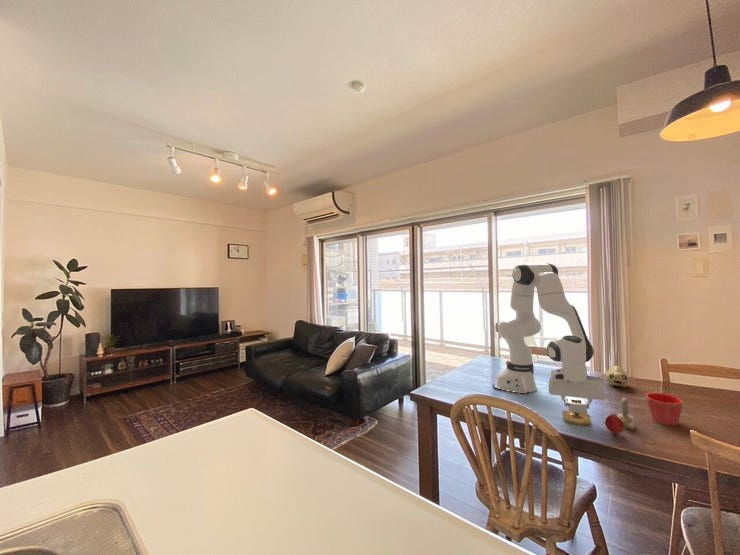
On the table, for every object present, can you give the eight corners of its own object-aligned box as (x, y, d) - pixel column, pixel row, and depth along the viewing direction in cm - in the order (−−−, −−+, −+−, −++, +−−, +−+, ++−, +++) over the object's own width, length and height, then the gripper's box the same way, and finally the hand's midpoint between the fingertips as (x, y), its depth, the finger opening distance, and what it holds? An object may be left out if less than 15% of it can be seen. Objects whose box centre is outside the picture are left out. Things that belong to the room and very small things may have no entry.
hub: (564, 423, 130) (563, 403, 130) (561, 413, 138) (560, 394, 138) (593, 427, 125) (592, 406, 125) (588, 417, 134) (587, 397, 134)
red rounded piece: (608, 436, 118) (607, 415, 118) (603, 429, 123) (602, 409, 123) (627, 438, 116) (626, 417, 116) (621, 431, 121) (620, 411, 121)
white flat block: (569, 411, 129) (569, 404, 129) (567, 403, 137) (566, 396, 137) (587, 413, 126) (586, 406, 126) (583, 405, 134) (582, 398, 134)
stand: (620, 427, 124) (618, 400, 124) (616, 422, 128) (615, 395, 128) (636, 429, 122) (634, 402, 122) (632, 424, 126) (630, 397, 126)
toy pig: (606, 388, 164) (605, 368, 164) (605, 381, 174) (604, 362, 174) (630, 391, 158) (629, 371, 158) (628, 384, 168) (627, 364, 168)
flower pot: (675, 430, 120) (674, 405, 120) (641, 418, 130) (640, 395, 130) (689, 423, 124) (687, 399, 124) (655, 413, 134) (654, 391, 134)
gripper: (602, 374, 130) (604, 407, 130) (547, 370, 139) (549, 401, 139) (606, 379, 124) (608, 413, 124) (548, 374, 133) (550, 406, 133)
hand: (576, 406), depth 132 cm, fingers closed on white flat block, 6 cm apart
